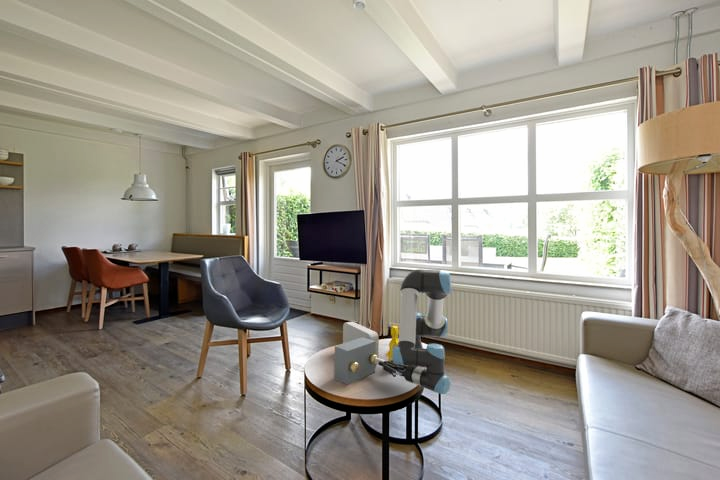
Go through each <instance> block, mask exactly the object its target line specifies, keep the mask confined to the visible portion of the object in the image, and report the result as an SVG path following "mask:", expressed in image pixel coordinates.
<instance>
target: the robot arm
mask: <svg viewBox="0 0 720 480" xmlns="http://www.w3.org/2000/svg"><path fill="white" fill-rule="evenodd" d="M399 293H400V296H401V302H400V304H401V305H400V317H399V327H398V329H399V335H398V346H394V347H393V354H392V359H393V360H391V361H389V360H386V359H382V358H380V357H379V358H377V357H376V358H375V364H377V365H376V366H381V367H382V370H383V371H385V372H386V373H387V374H388V373H389V374H390V375H392V376H393V377H394V378H397V376H399V377H403V378H404V379H405V381H406V382H408V383H411V384H414V385H416V386H419V387H421V388H424V389H427V390H430V391H432V392H434V393H437V394H440V395H446V394H447V393H448V392H449V390H450V388H451V378H450V377H449V376H447V375H446V374H445V359H446V357H445V347H444V346H443V345H442V344H438V343H428V344H427V345H426V348H424V347H423V344H422V341H421V340H422V339H421V337H435V338H445V337H446V336H447V332H448V319H447V317H445V316H444V306H445V298H447V296H448V295H450V294H451V293H452V281H451V273H450V272H449V271H448V270H442V269H420V268H419V269H415V270H412V271H411V272H410V273H408V274H407V275H406V276H405V277H404V279H403V281H402V283H401V285H400V292H399ZM421 293H423V294H424V293H425V295H426V296H427V313H426V314H425V315H422V313H421V312H418V310H417V309H418V298H419V297H420V294H421Z"/></svg>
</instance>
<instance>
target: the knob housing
mask: <svg viewBox="0 0 720 480" xmlns="http://www.w3.org/2000/svg"><path fill="white" fill-rule="evenodd" d="M375 351H376V341H373V340H370V339H367V338H364V337H362V338H358V339H355V340H352V341H349V342H346V343H343V342H342V343H340V344H337V345H334V362H333V363H334V368H333V369H334V373H333V374H334V375H333V376H334V377H333V378H334V380H336V381H339V382H341V383H342V384H345V385H347V386H348V385H349V384H352V383H355V382H357V381H358V380H361V379H363V378H365V377H367V376H369V375H371V374H374V373H376V365H375V364H372V363H370V362H369V356H370V355H371V354H374V355H375ZM351 362H356V363H358V364H359V365H360V369H359V371H358V372H357V373H354V372H352V371H350V370H349V364H350V363H351Z"/></svg>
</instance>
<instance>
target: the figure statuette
mask: <svg viewBox="0 0 720 480" xmlns="http://www.w3.org/2000/svg"><path fill="white" fill-rule="evenodd" d="M390 335H391V340H390V342H388V347H389V349H388V351H387V352H386V353H385V356H386V357H387V359H388V360H387V361H391V360H393V359H392V354H393V347H394V346H398V340H399V327H398V326H397V325H393V326H391V328H390Z"/></svg>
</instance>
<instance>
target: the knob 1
mask: <svg viewBox="0 0 720 480" xmlns="http://www.w3.org/2000/svg"><path fill="white" fill-rule="evenodd" d="M359 369H360V365H359V364H358V363H356V362H351V363H350V364H349V370H350V371H352V372H354V373H357V372H358V371H359Z"/></svg>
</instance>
